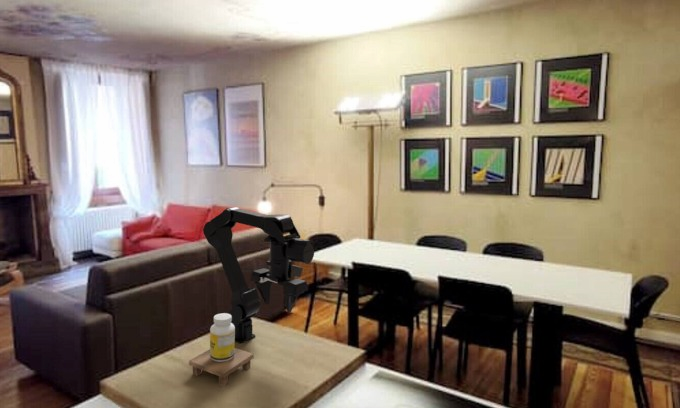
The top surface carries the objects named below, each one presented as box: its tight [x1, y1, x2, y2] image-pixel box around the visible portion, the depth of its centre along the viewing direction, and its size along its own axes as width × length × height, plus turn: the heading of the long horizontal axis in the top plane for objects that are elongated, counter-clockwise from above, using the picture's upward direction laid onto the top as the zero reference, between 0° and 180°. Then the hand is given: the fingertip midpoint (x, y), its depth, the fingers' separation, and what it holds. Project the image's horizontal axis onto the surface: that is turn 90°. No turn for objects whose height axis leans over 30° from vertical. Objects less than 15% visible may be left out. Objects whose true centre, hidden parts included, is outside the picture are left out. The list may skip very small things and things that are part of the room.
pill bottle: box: [209, 312, 236, 362], centre depth 121 cm, size 6×6×12 cm
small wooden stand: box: [188, 347, 255, 387], centre depth 122 cm, size 12×12×4 cm
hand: (278, 308), depth 134 cm, fingers open, 9 cm apart
